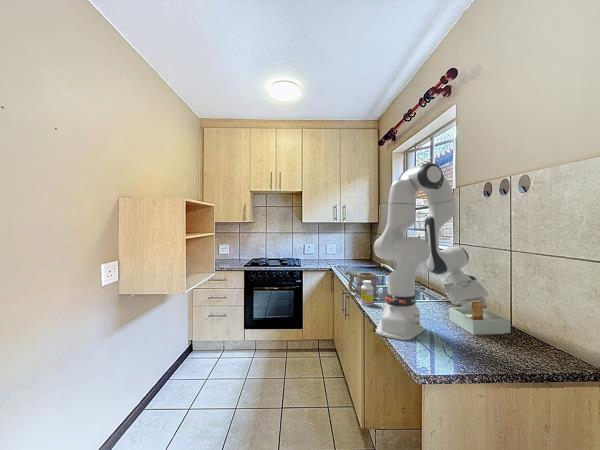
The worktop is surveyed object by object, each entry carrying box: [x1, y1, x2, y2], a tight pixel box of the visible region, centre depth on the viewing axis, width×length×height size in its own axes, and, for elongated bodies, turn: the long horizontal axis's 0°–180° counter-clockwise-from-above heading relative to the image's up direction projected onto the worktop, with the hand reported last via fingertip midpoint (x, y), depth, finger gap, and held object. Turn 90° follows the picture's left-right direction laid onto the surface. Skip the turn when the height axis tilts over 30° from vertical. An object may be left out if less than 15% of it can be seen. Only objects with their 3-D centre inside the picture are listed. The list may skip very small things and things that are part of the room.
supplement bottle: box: [360, 280, 375, 307], centre depth 162 cm, size 7×7×13 cm
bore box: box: [448, 306, 511, 336], centre depth 125 cm, size 18×15×6 cm
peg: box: [471, 301, 483, 320], centre depth 125 cm, size 4×4×10 cm
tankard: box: [344, 270, 379, 300], centre depth 180 cm, size 20×13×15 cm, turn 57°
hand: (478, 309), depth 125 cm, fingers open, 8 cm apart
